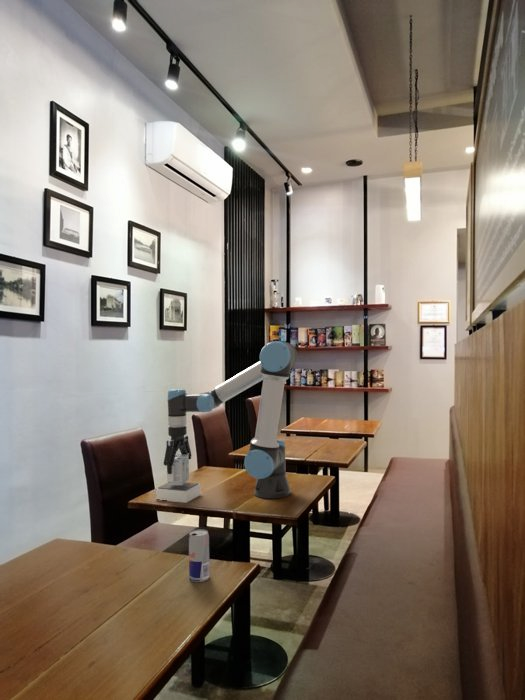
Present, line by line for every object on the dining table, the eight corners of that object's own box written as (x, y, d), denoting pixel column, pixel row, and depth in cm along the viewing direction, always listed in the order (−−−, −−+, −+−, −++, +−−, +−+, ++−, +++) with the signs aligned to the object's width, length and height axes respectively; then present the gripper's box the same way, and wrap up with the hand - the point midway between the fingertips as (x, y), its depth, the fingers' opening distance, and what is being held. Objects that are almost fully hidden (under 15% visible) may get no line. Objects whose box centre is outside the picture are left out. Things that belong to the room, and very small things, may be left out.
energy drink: (187, 576, 134) (186, 531, 134) (206, 572, 136) (205, 528, 136) (192, 584, 129) (191, 537, 129) (212, 580, 131) (211, 534, 131)
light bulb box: (174, 479, 216) (173, 453, 216) (189, 479, 215) (189, 453, 215) (167, 485, 205) (166, 459, 205) (183, 485, 204) (182, 458, 204)
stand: (200, 494, 213) (200, 483, 213) (186, 502, 202) (186, 490, 202) (171, 492, 218) (171, 480, 218) (156, 499, 207) (156, 487, 207)
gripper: (183, 422, 223) (184, 471, 222) (153, 429, 201) (155, 484, 200) (198, 422, 220) (199, 472, 220) (170, 430, 198) (171, 485, 198)
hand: (178, 478), depth 210 cm, fingers closed on light bulb box, 11 cm apart
